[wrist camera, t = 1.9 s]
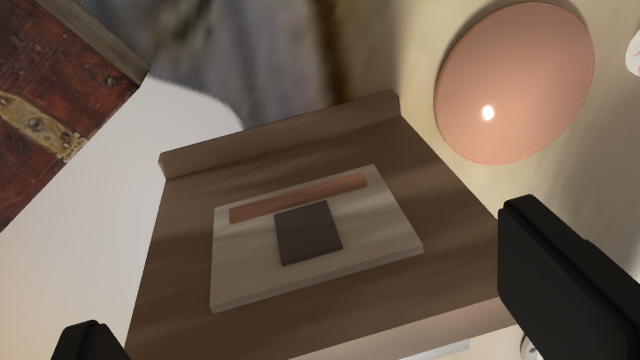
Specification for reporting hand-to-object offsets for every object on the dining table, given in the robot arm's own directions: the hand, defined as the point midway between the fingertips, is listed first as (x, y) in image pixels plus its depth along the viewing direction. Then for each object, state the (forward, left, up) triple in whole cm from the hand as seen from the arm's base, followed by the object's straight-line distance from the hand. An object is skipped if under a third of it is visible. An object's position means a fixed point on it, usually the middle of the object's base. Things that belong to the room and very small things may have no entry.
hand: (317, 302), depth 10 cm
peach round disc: (-13, -15, -23) cm, 31 cm away
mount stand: (-8, +3, -23) cm, 25 cm away
